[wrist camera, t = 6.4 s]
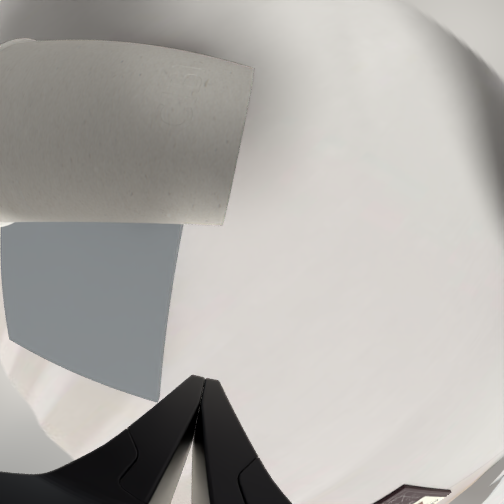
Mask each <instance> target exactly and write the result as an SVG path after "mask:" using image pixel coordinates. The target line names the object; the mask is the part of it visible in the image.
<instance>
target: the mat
mask: <svg viewBox="0 0 504 504" xmlns="http://www.w3.org/2000/svg"><path fill="white" fill-rule="evenodd" d="M182 229H183V224H159V223H116V222H14V223H12V224H10V225H7V226H4V227H1V276H2V289H3V299H4V308H5V315H6V322H7V328H8V334H9V339H10V340H11V341H13V342H15V343H17V344H18V345H20V346H22V347H24V348H25V349H27V350H29V351H31V352H33V353H35V354H37V355H39V356H41V357H42V358H44V359H46V360H48V361H50V362H52V363H55V364H57V365H59V366H61V367H63V368H65V369H67V370H70V371H72V372H74V373H76V374H79V375H81V376H83V377H86V378H88V379H91V380H93V381H96V382H98V383H101V384H103V385H106V386H109V387H111V388H114V389H117V390H120V391H123V392H126V393H129V394H132V395H135V396H138V397H141V398H144V399H147V400H151V401H154V402H158V400H159V396H160V384H161V373H162V363H163V353H164V344H165V336H166V328H167V320H168V313H169V306H170V299H171V292H172V285H173V279H174V273H175V267H176V261H177V255H178V250H179V244H180V239H181V234H182Z"/></svg>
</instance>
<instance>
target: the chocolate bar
mask: <svg viewBox="0 0 504 504" xmlns="http://www.w3.org/2000/svg"><path fill="white" fill-rule="evenodd" d="M450 493H451V490H440V489H431V488H422V487H415V486H408V485H403V486H402V487H400V488H399V489H397V490H396V491H394V492H393V493H391V494H389V495H388V496H386V497H385V498H383V499H381V500H380V501H378V502H376V503H374V504H436V503H437V502H439V501H440V500H442V499H443V498H445V497H446V496H447V495H449V494H450Z"/></svg>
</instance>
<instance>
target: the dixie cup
mask: <svg viewBox="0 0 504 504" xmlns="http://www.w3.org/2000/svg"><path fill="white" fill-rule="evenodd" d="M253 77H254V68H252V67H248V66H245V65H242V64H238V63H235V62H231V61H227V60H224V59H219V58H215V57H211V56H207V55H203V54H198V53H194V52H189V51H184V50H179V49H174V48H168V47H162V46H155V45H148V44H140V43H131V42H120V41H106V40H46V41H37V40H34V39H29V38H18V39H13V40H10V41H7V42H5V43H3V44H1V45H0V227H4V226H7V225H10V224H12V223H14V222H116V223H159V224H191V225H217V226H222V225H223V222H224V218H225V214H226V210H227V206H228V201H229V196H230V192H231V187H232V182H233V177H234V173H235V168H236V163H237V158H238V153H239V148H240V143H241V139H242V134H243V129H244V124H245V119H246V114H247V109H248V104H249V99H250V94H251V88H252V83H253Z"/></svg>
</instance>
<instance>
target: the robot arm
mask: <svg viewBox="0 0 504 504" xmlns="http://www.w3.org/2000/svg"><path fill="white" fill-rule="evenodd" d="M204 382H205V383H204ZM203 387H204V388H203ZM202 392H203V393H202ZM201 397H202V398H201ZM200 402H201V403H200ZM199 407H200V408H199ZM198 412H199V413H198ZM197 417H198V418H197ZM196 422H197V423H196ZM195 427H196V428H195ZM194 432H195V433H194ZM193 437H194V439H193ZM192 441H193V450H192V504H292V503H291V502H290V501H289V499H288V498H287V497H286V496H285V495H284V494H283V492H282V491H281V490H280V489H279V487H278V486H277V485H276V483H275V482H274V481H273V479H272V478H271V476H270V475H269V473H268V472H267V470H266V469H265V467H264V465H263V463H262V462H261V460H260V458H258V455H257V453H256V451H255V450H254V448H253V446H252V444H251V442H250V441H249V439H248V437H247V435H246V433H245V431H244V429H243V427H242V426H241V424H240V422H239V420H238V418H237V416H236V414H235V412H234V410H233V408H232V406H231V404H230V402H229V400H228V398H227V396H226V394H225V392H224V390H223V388H222V386H221V384H220V382H219V381H218V380H214V379H209V378H206V379H205V378H204V377H200V376H196V375H191V376H190V377H189V378H187V379H186V380H185V381H184V382H183V383H182V384H180V385H179V386H178V387H177V388H176V389H174V390H173V391H172V392H171V393H170V394H169V395H167V396H166V397H165V398H164V399H162V400H161V401H160V402H159V403H158V404H156V405H155V406H154V407H153V408H152V409H150V410H149V411H148V412H147V413H145V414H144V415H143V416H142V417H140V418H139V419H138V420H137V421H135V422H134V423H133V424H132V425H130V426H129V427H128V428H127V429H125V430H124V431H122V432H121V433H120V434H119V435H117V436H116V437H114V438H113V439H112V440H110V441H109V442H107V443H106V444H104V445H103V446H101V447H99V448H97V449H96V450H94V451H92V452H90V453H88V454H86V455H84V456H82V457H80V458H78V459H76V460H74V461H72V462H70V463H69V464H66V465H64V466H62V467H60V468H58V469H56V470H53V471H50V472H47V473H43V474H19V473H8V472H0V504H170V503H171V500H172V498H173V495H174V492H175V489H176V487H177V484H178V481H179V478H180V476H181V473H182V470H183V467H184V464H185V462H186V459H187V456H188V453H189V450H190V448H191V444H192Z"/></svg>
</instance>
